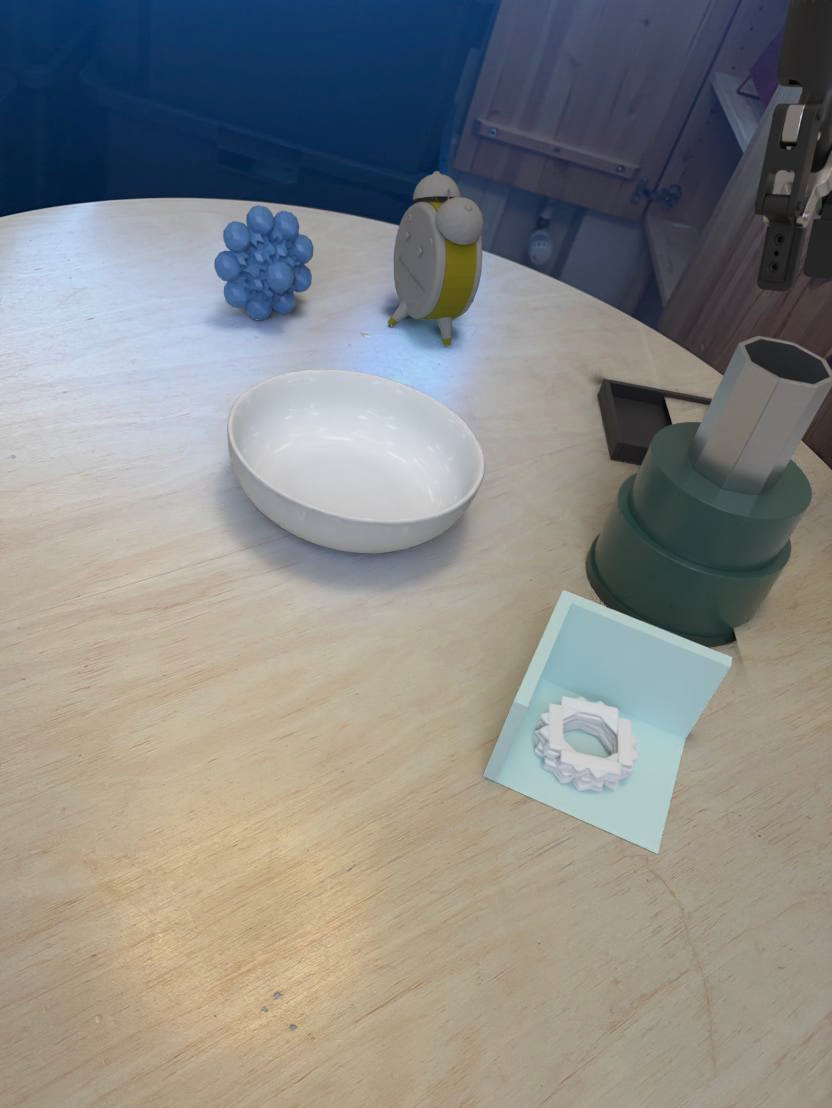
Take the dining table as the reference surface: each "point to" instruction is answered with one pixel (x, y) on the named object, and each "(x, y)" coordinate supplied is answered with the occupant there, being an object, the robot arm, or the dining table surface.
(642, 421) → the tray
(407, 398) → the serving bowl
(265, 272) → the blue knobbed cluster
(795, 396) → the cup
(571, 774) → the l-shaped corner panel
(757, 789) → the dining table surface
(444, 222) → the alarm clock
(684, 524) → the green stepped cylinder
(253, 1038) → the dining table surface
